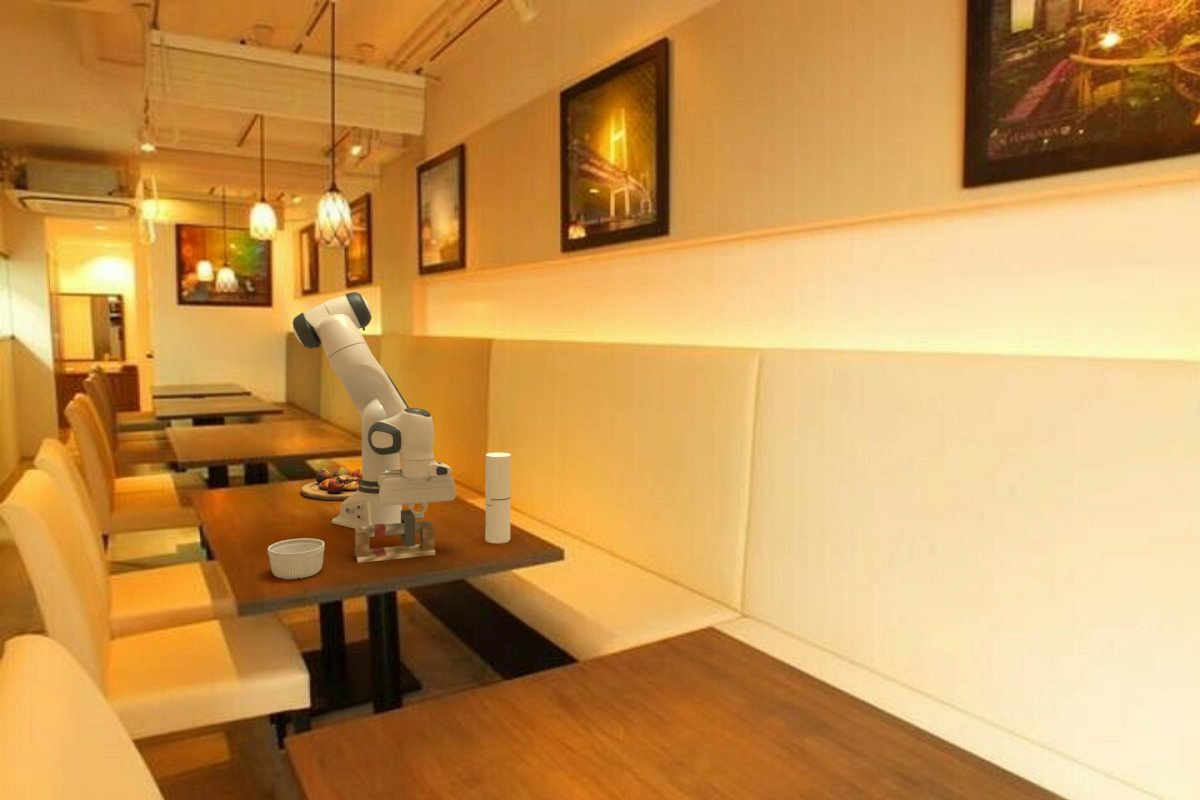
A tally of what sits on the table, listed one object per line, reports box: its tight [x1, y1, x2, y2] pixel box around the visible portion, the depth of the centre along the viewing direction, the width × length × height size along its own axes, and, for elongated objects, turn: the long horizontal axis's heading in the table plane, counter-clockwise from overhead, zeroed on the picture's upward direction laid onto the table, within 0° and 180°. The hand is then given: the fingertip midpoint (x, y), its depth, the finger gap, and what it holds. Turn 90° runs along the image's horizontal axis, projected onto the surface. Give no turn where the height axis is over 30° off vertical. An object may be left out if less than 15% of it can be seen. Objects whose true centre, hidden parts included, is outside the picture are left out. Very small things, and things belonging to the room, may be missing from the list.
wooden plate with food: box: [300, 466, 362, 501], centre depth 279 cm, size 32×32×8 cm
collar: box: [400, 509, 416, 547], centre depth 206 cm, size 2×8×8 cm, turn 23°
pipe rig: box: [354, 520, 436, 564], centre depth 205 cm, size 20×8×8 cm, turn 113°
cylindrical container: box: [484, 452, 512, 544], centre depth 220 cm, size 7×7×25 cm
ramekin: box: [267, 537, 326, 580], centre depth 190 cm, size 13×13×7 cm
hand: (417, 518), depth 207 cm, fingers closed
